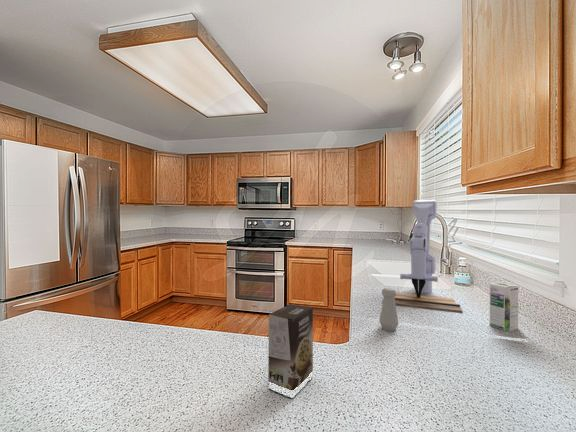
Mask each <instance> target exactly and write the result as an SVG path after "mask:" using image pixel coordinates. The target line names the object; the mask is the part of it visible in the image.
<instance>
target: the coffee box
mask: <svg viewBox="0 0 576 432" xmlns="http://www.w3.org/2000/svg"><path fill="white" fill-rule="evenodd" d="M313 312H314V308H313V307H311V306H305V305H299V304H293V303H289V304H287V305H285V306H283V307H281V308H278V309H276V310H275V311H273V312H271V313H268V352H267V353H268V365H267V374H268V375H267V377H268V379H267V381H269V382H271V383H274V384H276V385H278V386H281V387H284V388H287V389H289V390H294V389H295V388H296V387H298V386H299V385H300V384H301V383H302V382H303V381H304V380H305V379H306V378H307V377H308V376H309V374H310V373H311V372H312V371H313V372H314V368H313V367H314V363H313V362H314V360H313V359H314V356H313V355H314V345H313V344H314V342H313V341H314V339H313V337H314V334H313V333H314V329H313V328H314V313H313Z"/></svg>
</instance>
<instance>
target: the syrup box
mask: <svg viewBox="0 0 576 432" xmlns="http://www.w3.org/2000/svg"><path fill="white" fill-rule="evenodd" d="M488 324H489V326H490V327H493V328H495V329H499V330H502V331H505V332H512V331H515V330H518V329H519V285H513V284H510V283H509V284H508V283H504V282H492V283H489V323H488Z"/></svg>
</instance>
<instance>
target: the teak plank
mask: <svg viewBox="0 0 576 432" xmlns="http://www.w3.org/2000/svg"><path fill="white" fill-rule="evenodd" d="M394 298H403V299H412V300H422V301H431V302H441V303H450V304H457V302H456V301H455V299H454V298H453V297H446V296H444V297H443V296H436V295H426V294H425V295H424V294H421V296H420V298H418V297H417V295H416V293H415V294H414V293H406V292H405V293H403V292H396V296H395V297H394Z"/></svg>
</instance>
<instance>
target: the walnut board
mask: <svg viewBox="0 0 576 432" xmlns="http://www.w3.org/2000/svg"><path fill="white" fill-rule="evenodd" d="M394 299H395V305H396V306H399V307H406V308H407V307H408V308H409V307H411V308H416V309H417V308H418V309H424V310H425V309H426V310H432V311H433V310H434V311H444V312H452V313H462V314H463V309H462V307H461V304H460V303H456V304H450V303H441V302H431V301H422V300H412V299H403V298H394ZM383 300H384V298H383V299H382V301H383Z"/></svg>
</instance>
